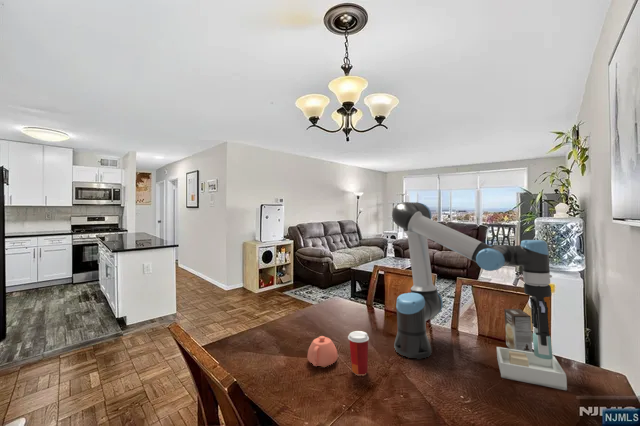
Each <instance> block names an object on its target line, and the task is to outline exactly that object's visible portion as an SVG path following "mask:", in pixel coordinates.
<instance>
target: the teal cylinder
mask: <svg viewBox="0 0 640 426" xmlns="http://www.w3.org/2000/svg"><path fill="white" fill-rule="evenodd" d="M532 347H533V352H534V355H535V356H537V357H539V358H542V359H552V358H553V356H554V355H553V346H552V337H551V335H549V336H548V347H549V355H544V354H539V352H538V338H537V335H536V333H534V332H533V333H532ZM552 355H553V356H552Z"/></svg>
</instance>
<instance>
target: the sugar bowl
mask: <svg viewBox="0 0 640 426" xmlns="http://www.w3.org/2000/svg"><path fill="white" fill-rule="evenodd" d="M338 357H339V355H338V349H337V348H336V346H335V344H334V342H333V340H331V338H329V337H326V336H324V335H321V336H318V337H317V338H316V337H315V338H314V339H313V340H312V341H311V344H310V346H309V347H308V349H307V360H308V362H309V363H310V364H311V363H312V364H313V365H312V364H311V365H312V366H314V367H317V366H328V365H330V366H332V365H334V364H335V362H337V360H338ZM333 363H334V364H333ZM331 364H332V365H331ZM328 367H329V366H328Z"/></svg>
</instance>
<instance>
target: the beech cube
mask: <svg viewBox="0 0 640 426" xmlns="http://www.w3.org/2000/svg"><path fill="white" fill-rule="evenodd" d="M509 360H510V364H515V365H521V366H526V367H529V363H528V358H527V356H526V354H524V353H518V352H511V351H509Z"/></svg>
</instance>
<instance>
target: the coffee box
mask: <svg viewBox="0 0 640 426" xmlns="http://www.w3.org/2000/svg"><path fill="white" fill-rule="evenodd" d="M503 312H504V325H505V326H504V327H505V328H504V329H505V344H506V346H507V348H508V349H514V350H521V351H527V352H533V335H532V334H533V333H532V315H529V314H528V313H526V312H525V311H524V310H522V309H521V308H504V311H503Z"/></svg>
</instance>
